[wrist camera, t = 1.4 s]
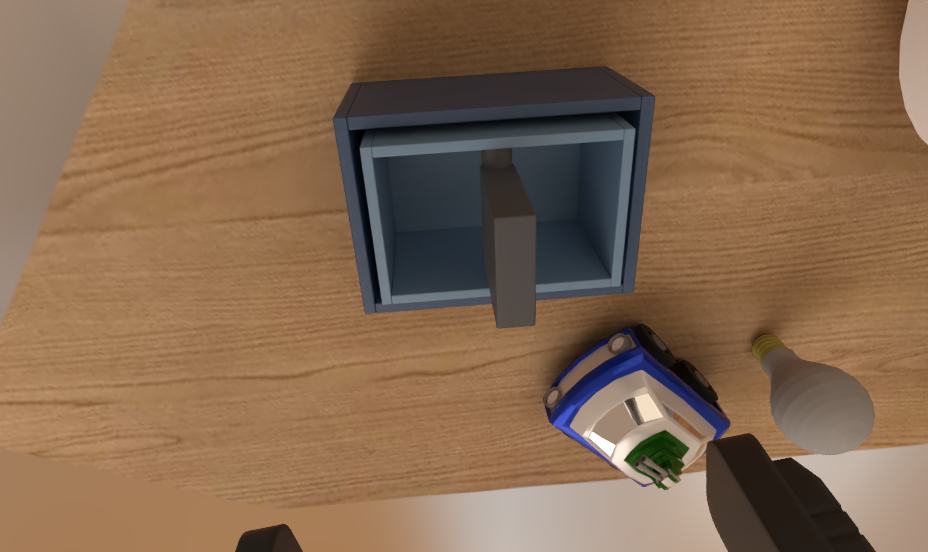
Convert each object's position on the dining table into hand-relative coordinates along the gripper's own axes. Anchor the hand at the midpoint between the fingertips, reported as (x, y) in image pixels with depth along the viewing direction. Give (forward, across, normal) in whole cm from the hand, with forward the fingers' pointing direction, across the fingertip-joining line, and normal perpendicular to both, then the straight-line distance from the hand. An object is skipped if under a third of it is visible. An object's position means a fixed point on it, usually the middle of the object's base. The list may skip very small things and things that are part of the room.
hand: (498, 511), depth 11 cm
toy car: (+26, -9, +21) cm, 35 cm away
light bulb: (+26, -19, +20) cm, 38 cm away
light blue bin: (+25, -2, +2) cm, 25 cm away
